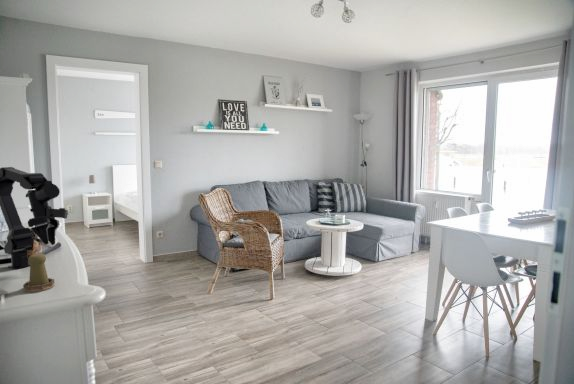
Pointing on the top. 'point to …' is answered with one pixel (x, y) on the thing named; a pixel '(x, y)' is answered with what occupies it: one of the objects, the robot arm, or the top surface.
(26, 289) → the walnut stand
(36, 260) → the cork
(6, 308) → the top surface
